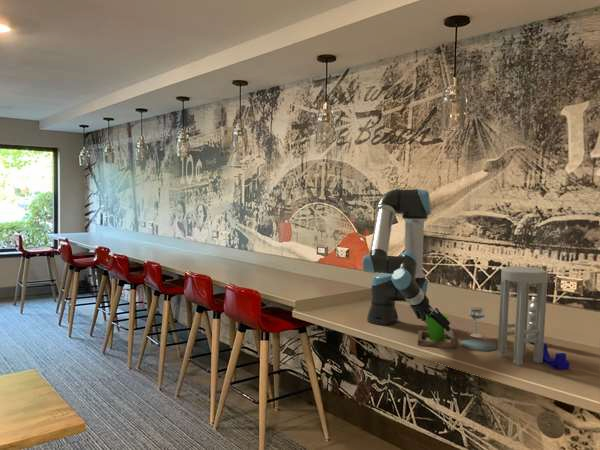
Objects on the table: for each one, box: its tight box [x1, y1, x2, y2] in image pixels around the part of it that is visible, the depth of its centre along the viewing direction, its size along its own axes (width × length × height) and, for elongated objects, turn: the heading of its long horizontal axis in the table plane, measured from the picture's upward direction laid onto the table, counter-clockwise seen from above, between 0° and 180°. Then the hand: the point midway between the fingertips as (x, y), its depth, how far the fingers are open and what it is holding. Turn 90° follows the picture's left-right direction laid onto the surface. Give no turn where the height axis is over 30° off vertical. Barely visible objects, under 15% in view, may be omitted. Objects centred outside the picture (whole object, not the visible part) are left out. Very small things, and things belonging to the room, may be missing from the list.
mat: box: [460, 339, 497, 352], centre depth 204 cm, size 14×14×1 cm
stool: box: [497, 265, 549, 366], centre depth 188 cm, size 16×16×35 cm
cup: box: [426, 313, 449, 342], centre depth 208 cm, size 9×9×11 cm
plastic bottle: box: [526, 295, 537, 344], centre depth 209 cm, size 6×7×20 cm
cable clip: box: [543, 343, 570, 371], centre depth 184 cm, size 12×4×6 cm, turn 9°
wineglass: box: [468, 306, 486, 338], centre depth 218 cm, size 7×7×12 cm
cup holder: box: [417, 329, 456, 349], centre depth 209 cm, size 15×15×2 cm
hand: (441, 331), depth 210 cm, fingers closed on cup, 9 cm apart
